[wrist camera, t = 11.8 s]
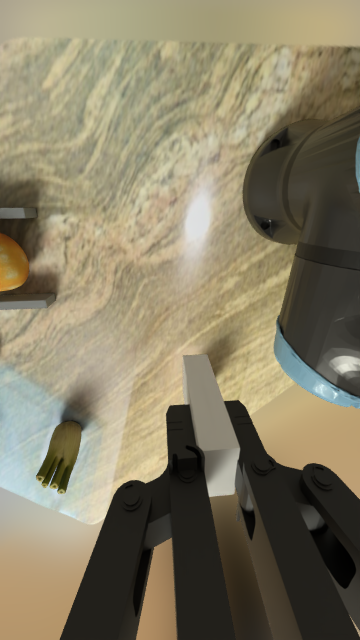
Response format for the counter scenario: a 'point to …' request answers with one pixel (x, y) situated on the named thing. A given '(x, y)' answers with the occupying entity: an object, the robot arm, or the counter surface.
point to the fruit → (12, 264)
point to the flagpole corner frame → (23, 299)
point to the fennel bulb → (61, 456)
